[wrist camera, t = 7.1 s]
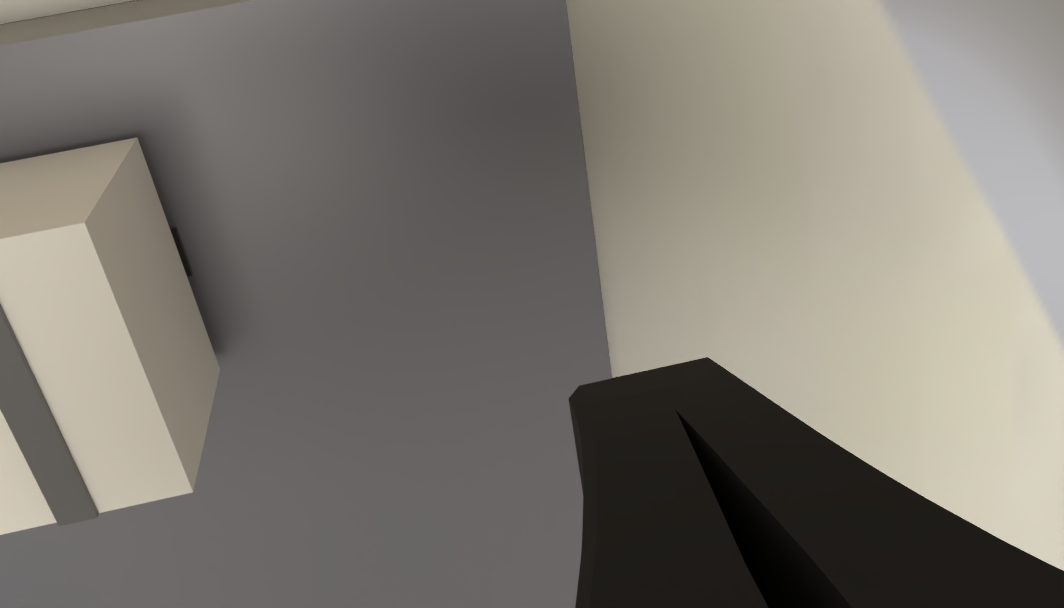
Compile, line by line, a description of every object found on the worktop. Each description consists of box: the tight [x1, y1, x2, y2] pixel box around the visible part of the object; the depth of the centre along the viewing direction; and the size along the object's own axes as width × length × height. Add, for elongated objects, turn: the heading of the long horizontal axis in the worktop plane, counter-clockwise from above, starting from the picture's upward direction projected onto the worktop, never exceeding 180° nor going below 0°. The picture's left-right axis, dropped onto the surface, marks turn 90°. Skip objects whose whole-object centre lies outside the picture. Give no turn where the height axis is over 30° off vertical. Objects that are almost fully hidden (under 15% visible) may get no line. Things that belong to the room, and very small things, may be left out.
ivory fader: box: [0, 138, 220, 535], centre depth 13 cm, size 4×3×3 cm
